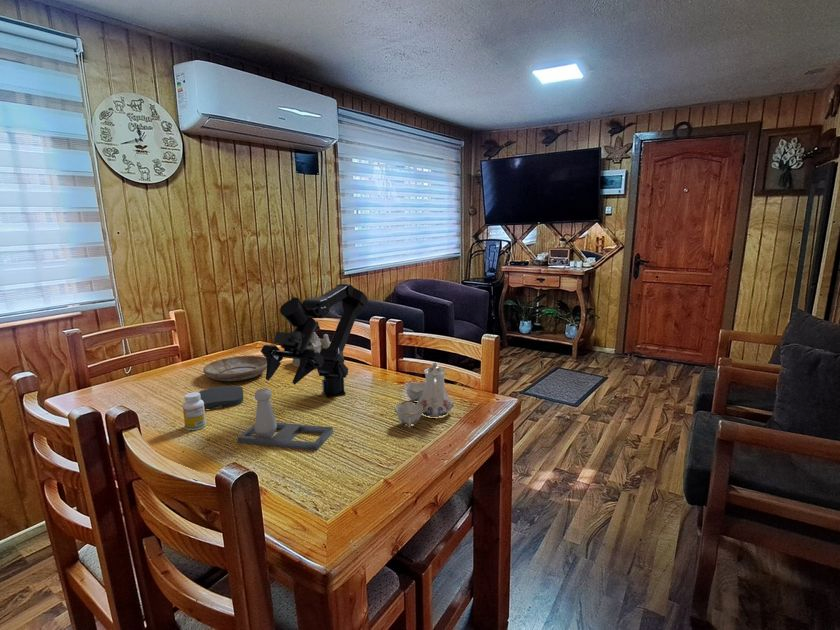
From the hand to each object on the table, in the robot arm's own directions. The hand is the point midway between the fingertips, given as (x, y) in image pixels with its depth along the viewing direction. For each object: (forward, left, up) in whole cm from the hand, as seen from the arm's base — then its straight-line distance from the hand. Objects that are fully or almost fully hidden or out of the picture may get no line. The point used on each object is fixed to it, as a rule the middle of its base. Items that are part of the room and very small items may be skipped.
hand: (280, 381), depth 126 cm
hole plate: (0, +8, -13) cm, 16 cm away
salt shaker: (+5, +5, -13) cm, 15 cm away
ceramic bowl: (+11, -52, -13) cm, 55 cm away
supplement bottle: (+23, -9, -13) cm, 28 cm away
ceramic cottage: (-19, -57, -13) cm, 61 cm away
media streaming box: (+17, -28, -14) cm, 35 cm away
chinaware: (-41, +9, -13) cm, 44 cm away
